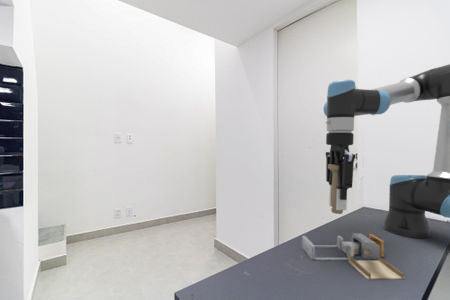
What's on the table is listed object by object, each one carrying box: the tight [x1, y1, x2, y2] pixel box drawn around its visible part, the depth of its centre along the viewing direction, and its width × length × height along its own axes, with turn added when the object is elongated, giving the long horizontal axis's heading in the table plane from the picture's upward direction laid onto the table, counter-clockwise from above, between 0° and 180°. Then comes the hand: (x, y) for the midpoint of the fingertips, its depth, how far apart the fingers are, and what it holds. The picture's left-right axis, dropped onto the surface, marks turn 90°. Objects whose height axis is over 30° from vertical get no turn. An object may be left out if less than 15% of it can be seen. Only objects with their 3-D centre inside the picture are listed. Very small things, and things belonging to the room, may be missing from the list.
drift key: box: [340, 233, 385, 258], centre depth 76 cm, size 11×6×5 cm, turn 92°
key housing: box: [350, 233, 380, 260], centre depth 76 cm, size 5×7×5 cm
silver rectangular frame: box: [301, 235, 355, 261], centre depth 76 cm, size 13×9×4 cm
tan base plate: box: [347, 257, 406, 281], centre depth 66 cm, size 10×9×2 cm
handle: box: [328, 164, 344, 215], centre depth 73 cm, size 5×6×15 cm
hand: (337, 207), depth 73 cm, fingers closed on handle, 4 cm apart
